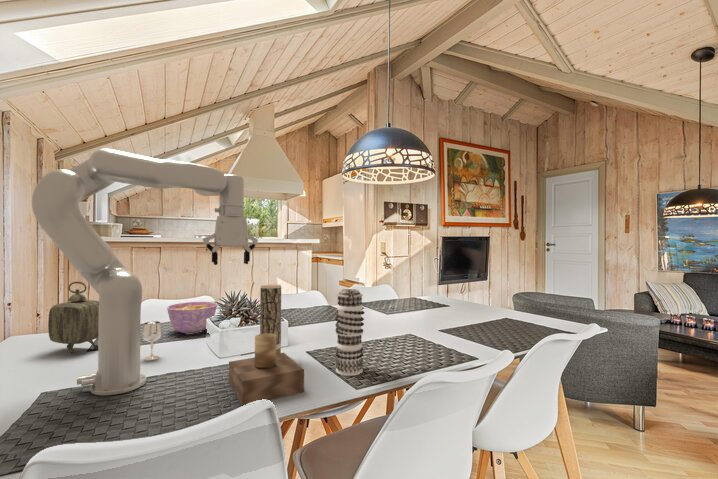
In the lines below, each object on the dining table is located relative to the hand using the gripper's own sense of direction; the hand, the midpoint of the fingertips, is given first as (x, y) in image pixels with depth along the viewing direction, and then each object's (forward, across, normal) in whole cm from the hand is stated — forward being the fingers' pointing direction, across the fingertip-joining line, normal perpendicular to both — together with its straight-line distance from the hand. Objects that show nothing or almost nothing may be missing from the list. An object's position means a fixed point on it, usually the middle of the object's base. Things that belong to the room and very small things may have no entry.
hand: (231, 264), depth 116 cm
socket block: (+32, +4, -26) cm, 41 cm away
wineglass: (+32, -22, +17) cm, 43 cm away
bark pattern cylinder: (+32, +12, -5) cm, 35 cm away
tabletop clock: (+32, -45, +39) cm, 68 cm away
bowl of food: (+32, -6, +48) cm, 58 cm away
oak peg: (+32, +4, -26) cm, 42 cm away
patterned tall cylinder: (+32, +30, -26) cm, 52 cm away
